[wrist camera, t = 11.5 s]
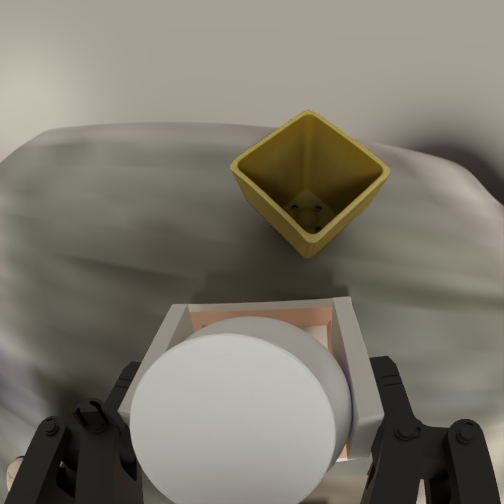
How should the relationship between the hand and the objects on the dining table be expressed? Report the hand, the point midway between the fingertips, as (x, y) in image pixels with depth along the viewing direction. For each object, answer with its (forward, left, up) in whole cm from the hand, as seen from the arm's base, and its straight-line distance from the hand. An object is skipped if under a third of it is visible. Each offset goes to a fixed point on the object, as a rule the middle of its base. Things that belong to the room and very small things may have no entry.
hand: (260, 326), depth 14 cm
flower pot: (+3, +12, -13) cm, 18 cm away
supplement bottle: (0, -4, -5) cm, 6 cm away
